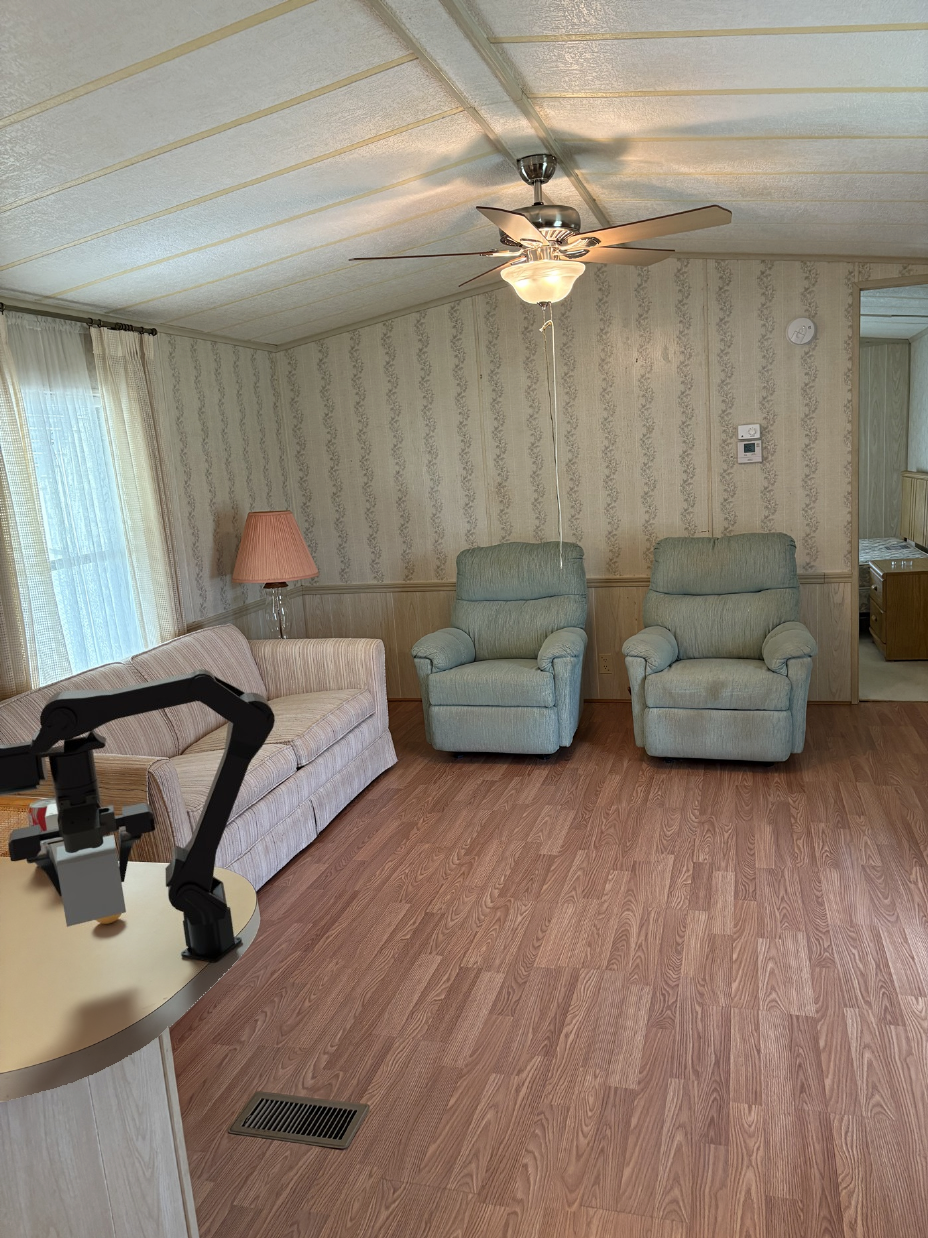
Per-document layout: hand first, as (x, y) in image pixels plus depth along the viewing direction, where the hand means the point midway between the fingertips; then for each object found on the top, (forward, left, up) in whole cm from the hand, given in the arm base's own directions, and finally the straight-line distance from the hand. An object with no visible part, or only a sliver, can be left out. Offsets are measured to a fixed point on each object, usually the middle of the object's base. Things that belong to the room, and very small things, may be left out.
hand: (92, 888), depth 135 cm
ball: (+12, -13, -10) cm, 20 cm away
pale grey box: (0, 0, -3) cm, 3 cm away
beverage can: (+42, -29, -13) cm, 53 cm away
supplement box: (+34, -27, -13) cm, 46 cm away
